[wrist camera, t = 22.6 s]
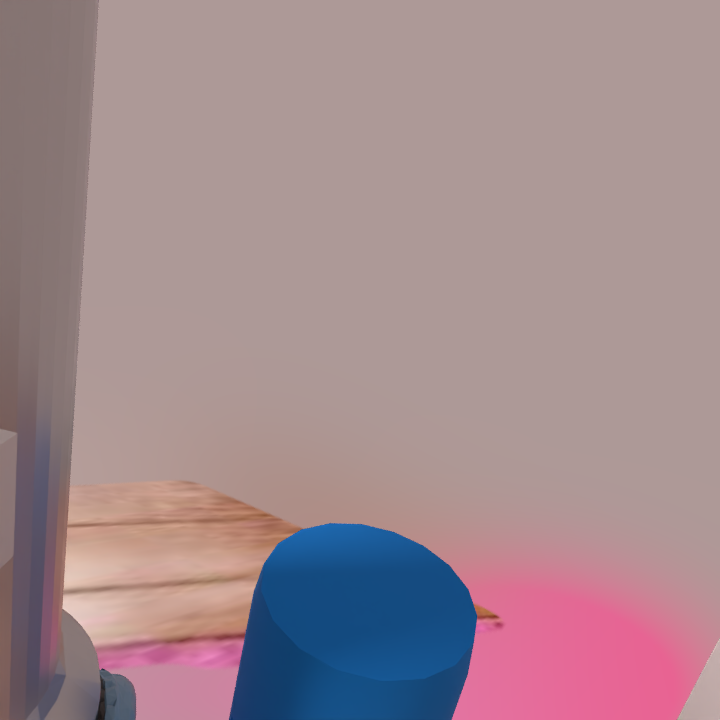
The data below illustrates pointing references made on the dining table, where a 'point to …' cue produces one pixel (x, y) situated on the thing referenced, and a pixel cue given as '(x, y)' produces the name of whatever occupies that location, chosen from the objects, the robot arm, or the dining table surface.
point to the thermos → (354, 630)
